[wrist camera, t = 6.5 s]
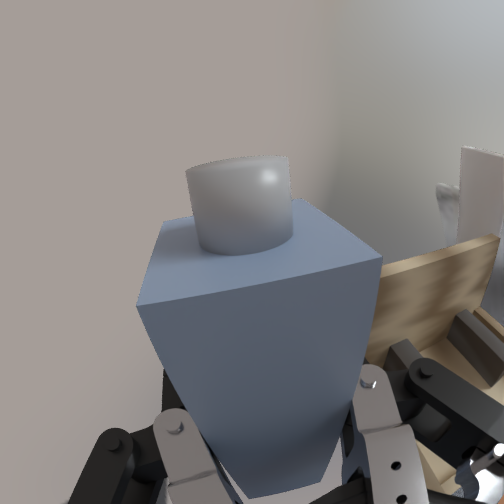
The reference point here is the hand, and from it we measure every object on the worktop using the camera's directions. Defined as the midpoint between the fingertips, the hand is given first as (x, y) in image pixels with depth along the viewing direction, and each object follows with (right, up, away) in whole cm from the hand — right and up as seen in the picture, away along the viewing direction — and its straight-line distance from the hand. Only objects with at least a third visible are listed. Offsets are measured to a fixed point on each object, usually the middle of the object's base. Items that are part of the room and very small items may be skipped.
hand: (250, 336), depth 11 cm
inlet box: (+14, -7, +2) cm, 16 cm away
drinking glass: (+27, +1, +15) cm, 30 cm away
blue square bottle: (+2, -9, +1) cm, 9 cm away
